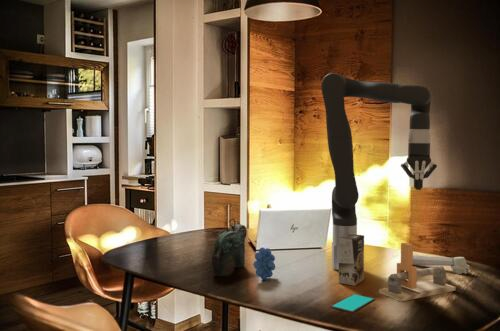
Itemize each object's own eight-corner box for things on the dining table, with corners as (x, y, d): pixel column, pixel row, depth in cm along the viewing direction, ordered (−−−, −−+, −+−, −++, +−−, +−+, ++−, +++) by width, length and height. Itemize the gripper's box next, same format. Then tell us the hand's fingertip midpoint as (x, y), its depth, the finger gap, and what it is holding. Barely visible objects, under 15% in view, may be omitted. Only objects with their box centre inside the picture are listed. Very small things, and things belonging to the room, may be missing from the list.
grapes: (264, 285, 172) (264, 251, 172) (249, 282, 176) (249, 248, 176) (283, 278, 181) (283, 245, 181) (268, 275, 186) (268, 243, 185)
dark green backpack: (237, 264, 202) (236, 215, 201) (250, 266, 199) (250, 216, 197) (208, 276, 185) (208, 222, 184) (223, 278, 181) (223, 223, 180)
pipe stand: (401, 301, 155) (401, 277, 155) (379, 292, 164) (379, 270, 164) (455, 290, 166) (455, 268, 166) (432, 282, 175) (432, 261, 175)
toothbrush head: (405, 253, 204) (469, 253, 188) (407, 269, 204) (471, 271, 188) (400, 255, 200) (465, 256, 184) (402, 272, 200) (467, 274, 184)
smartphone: (330, 306, 150) (353, 293, 162) (330, 308, 150) (353, 296, 162) (352, 311, 145) (375, 298, 157) (352, 314, 145) (375, 301, 157)
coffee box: (355, 286, 172) (356, 239, 171) (337, 283, 175) (338, 237, 174) (364, 279, 180) (364, 235, 179) (347, 277, 183) (347, 233, 182)
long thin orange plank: (411, 289, 159) (412, 246, 159) (396, 283, 166) (397, 242, 165) (416, 288, 160) (417, 245, 160) (401, 282, 166) (401, 241, 166)
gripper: (403, 142, 178) (402, 190, 179) (441, 142, 177) (440, 191, 178) (398, 141, 185) (397, 188, 186) (434, 142, 185) (433, 188, 186)
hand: (418, 189), depth 182 cm, fingers closed
